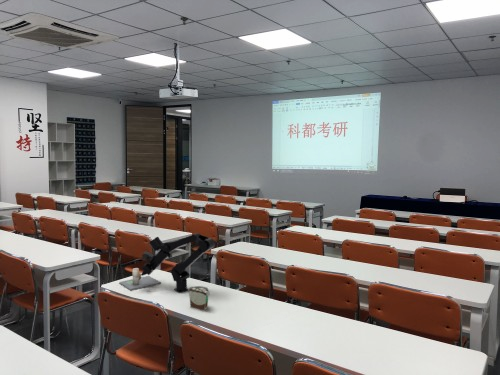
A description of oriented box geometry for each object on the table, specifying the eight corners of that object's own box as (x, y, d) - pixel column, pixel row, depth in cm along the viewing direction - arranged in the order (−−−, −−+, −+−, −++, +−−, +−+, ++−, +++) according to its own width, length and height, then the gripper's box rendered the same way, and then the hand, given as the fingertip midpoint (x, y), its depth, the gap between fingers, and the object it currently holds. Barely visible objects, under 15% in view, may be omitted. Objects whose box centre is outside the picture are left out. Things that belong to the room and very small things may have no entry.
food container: (214, 307, 196) (214, 288, 195) (207, 312, 191) (207, 292, 190) (196, 302, 202) (196, 284, 201) (188, 306, 197) (188, 287, 196)
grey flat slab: (160, 283, 231) (160, 282, 231) (130, 290, 219) (130, 289, 218) (148, 277, 243) (148, 275, 243) (119, 283, 231) (119, 281, 231)
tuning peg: (134, 278, 237) (133, 263, 236) (141, 277, 238) (141, 263, 237) (131, 285, 224) (131, 270, 224) (139, 284, 225) (139, 269, 224)
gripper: (155, 243, 233) (137, 260, 235) (144, 251, 215) (125, 269, 217) (168, 256, 234) (150, 273, 235) (158, 265, 215) (139, 284, 217)
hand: (141, 275), depth 226 cm, fingers closed
